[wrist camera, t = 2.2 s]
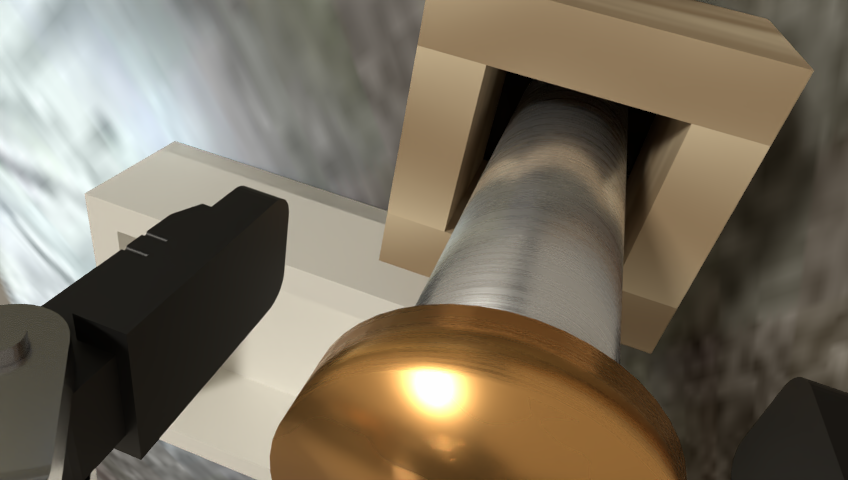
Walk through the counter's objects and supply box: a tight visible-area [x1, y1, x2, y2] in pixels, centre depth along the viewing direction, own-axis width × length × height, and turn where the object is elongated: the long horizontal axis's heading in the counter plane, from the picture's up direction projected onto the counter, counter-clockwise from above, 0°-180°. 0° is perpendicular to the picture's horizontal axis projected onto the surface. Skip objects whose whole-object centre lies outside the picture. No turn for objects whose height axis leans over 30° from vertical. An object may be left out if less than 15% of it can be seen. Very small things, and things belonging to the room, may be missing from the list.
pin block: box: [379, 0, 814, 354], centre depth 15 cm, size 7×7×4 cm
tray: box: [85, 141, 429, 480], centre depth 22 cm, size 11×11×4 cm
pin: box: [270, 79, 687, 480], centre depth 11 cm, size 4×4×13 cm
